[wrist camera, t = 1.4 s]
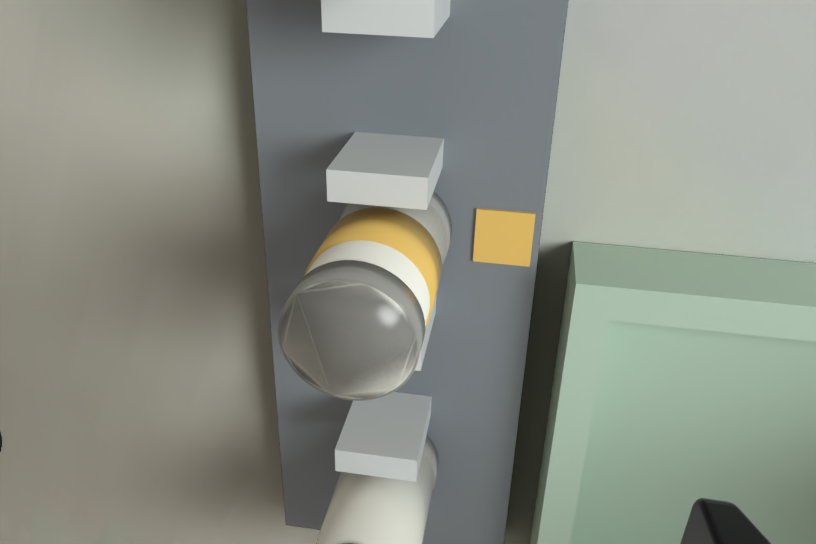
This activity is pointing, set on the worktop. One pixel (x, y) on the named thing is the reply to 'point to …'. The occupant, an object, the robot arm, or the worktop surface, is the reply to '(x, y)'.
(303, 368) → the fuse marked
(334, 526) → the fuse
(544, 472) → the tray
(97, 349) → the worktop surface
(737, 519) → the robot arm
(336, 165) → the fuse panel
